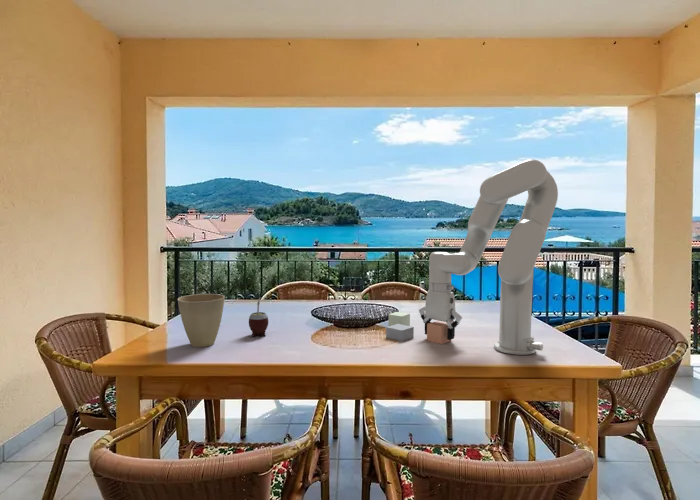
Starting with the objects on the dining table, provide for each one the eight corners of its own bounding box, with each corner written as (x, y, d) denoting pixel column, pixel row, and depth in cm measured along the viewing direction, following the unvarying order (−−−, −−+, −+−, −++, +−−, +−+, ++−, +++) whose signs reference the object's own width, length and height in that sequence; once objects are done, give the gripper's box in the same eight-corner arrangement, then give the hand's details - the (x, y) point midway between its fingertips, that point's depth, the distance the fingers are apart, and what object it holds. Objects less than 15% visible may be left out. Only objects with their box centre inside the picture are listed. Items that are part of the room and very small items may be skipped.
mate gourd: (258, 331, 161) (257, 292, 160) (274, 334, 157) (274, 294, 156) (243, 336, 154) (243, 295, 154) (260, 339, 150) (259, 297, 149)
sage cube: (409, 328, 166) (409, 313, 166) (401, 332, 162) (402, 316, 161) (396, 326, 170) (396, 311, 170) (388, 329, 165) (388, 314, 165)
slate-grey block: (413, 337, 154) (413, 326, 154) (401, 341, 149) (402, 330, 149) (397, 334, 159) (397, 323, 159) (386, 338, 154) (386, 327, 153)
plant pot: (179, 340, 149) (178, 295, 148) (223, 336, 154) (222, 292, 153) (178, 352, 135) (177, 302, 134) (227, 348, 140) (226, 299, 139)
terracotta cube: (451, 340, 150) (451, 323, 149) (441, 344, 146) (441, 326, 145) (437, 337, 154) (437, 321, 154) (426, 340, 150) (427, 323, 150)
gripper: (467, 289, 145) (466, 339, 146) (426, 283, 158) (425, 330, 159) (455, 291, 140) (454, 343, 141) (413, 285, 152) (412, 333, 154)
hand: (439, 336), depth 150 cm, fingers open, 9 cm apart
